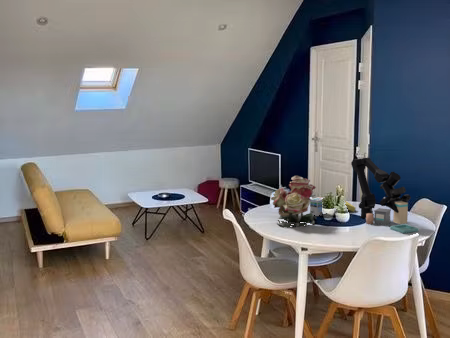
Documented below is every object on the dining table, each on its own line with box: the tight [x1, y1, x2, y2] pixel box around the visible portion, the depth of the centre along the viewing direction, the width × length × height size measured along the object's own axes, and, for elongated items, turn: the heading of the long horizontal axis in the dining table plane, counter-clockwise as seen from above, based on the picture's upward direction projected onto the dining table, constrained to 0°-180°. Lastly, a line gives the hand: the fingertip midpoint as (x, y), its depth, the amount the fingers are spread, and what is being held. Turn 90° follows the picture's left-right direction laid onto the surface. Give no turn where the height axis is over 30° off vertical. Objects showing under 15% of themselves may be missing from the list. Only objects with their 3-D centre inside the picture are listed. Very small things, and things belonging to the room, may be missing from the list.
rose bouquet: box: [270, 175, 317, 228], centre depth 312 cm, size 26×29×30 cm
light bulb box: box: [309, 196, 324, 217], centre depth 335 cm, size 11×7×11 cm, turn 131°
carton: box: [392, 201, 409, 225], centre depth 294 cm, size 6×6×12 cm
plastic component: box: [345, 200, 357, 212], centre depth 349 cm, size 20×7×10 cm
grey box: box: [373, 207, 392, 226], centre depth 309 cm, size 8×9×8 cm
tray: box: [389, 223, 420, 234], centre depth 292 cm, size 11×11×2 cm
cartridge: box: [365, 213, 375, 225], centre depth 309 cm, size 4×4×6 cm
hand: (402, 212), depth 293 cm, fingers closed on carton, 5 cm apart
